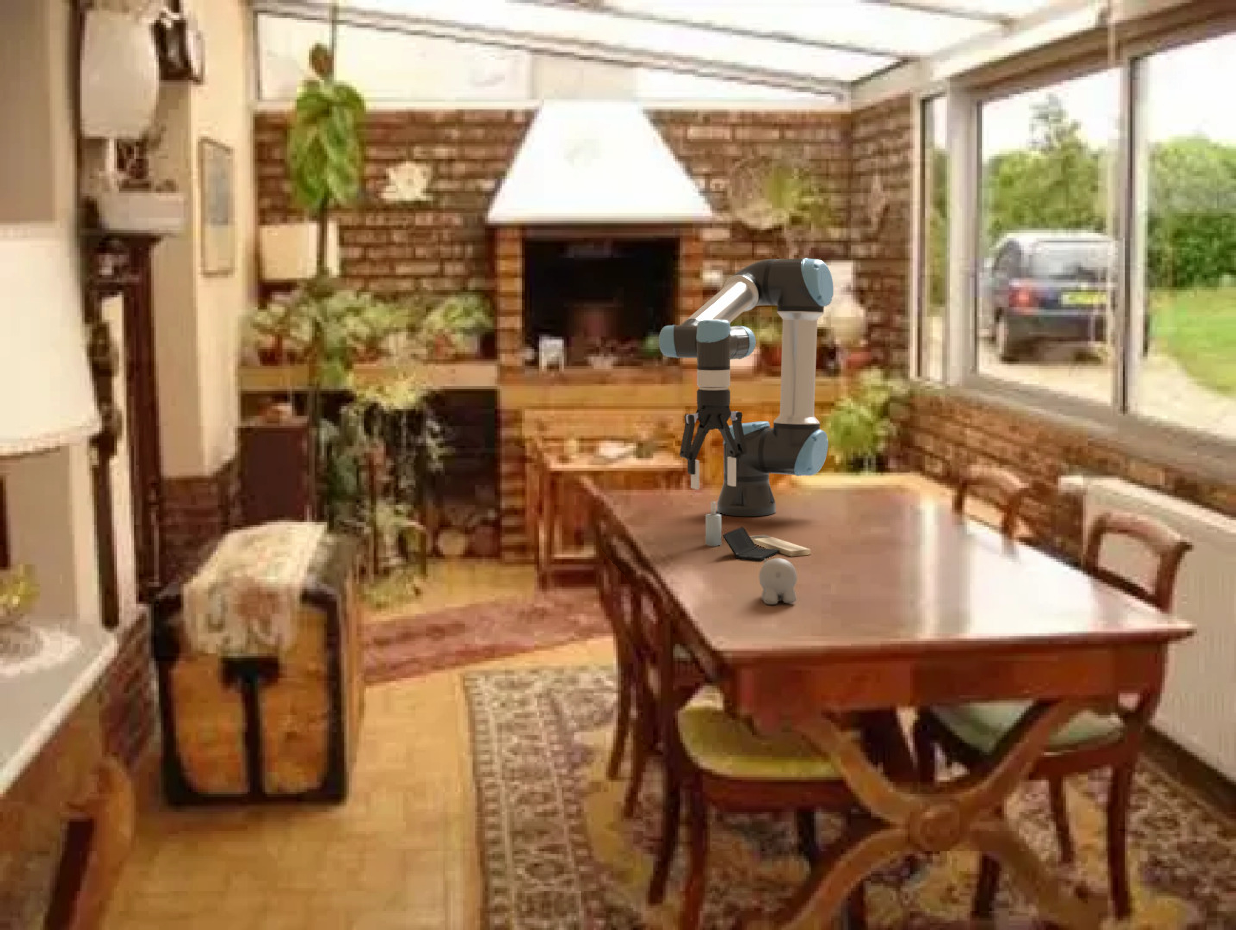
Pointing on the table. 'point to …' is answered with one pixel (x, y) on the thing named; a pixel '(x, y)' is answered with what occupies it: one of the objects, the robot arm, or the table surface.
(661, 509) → the table surface
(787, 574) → the toy rhinoceros
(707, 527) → the grey bottle
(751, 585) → the table surface
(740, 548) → the handheld gaming console
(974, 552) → the table surface
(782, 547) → the batten
